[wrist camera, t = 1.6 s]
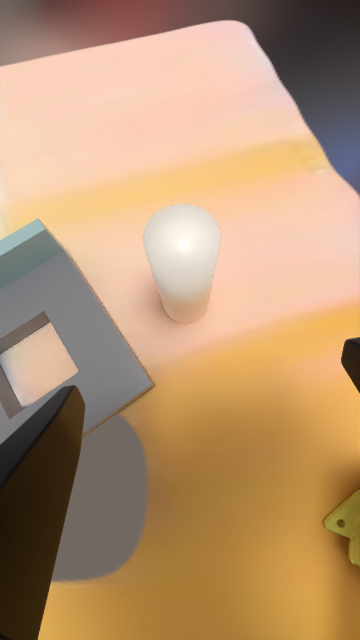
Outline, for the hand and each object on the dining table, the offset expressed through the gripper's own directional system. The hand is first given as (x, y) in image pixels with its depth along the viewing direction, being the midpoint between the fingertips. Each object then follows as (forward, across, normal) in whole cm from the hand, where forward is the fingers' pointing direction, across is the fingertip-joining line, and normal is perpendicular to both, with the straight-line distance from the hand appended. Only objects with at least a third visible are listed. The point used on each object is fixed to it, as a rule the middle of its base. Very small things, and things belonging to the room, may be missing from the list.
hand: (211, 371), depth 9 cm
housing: (+12, +13, +6) cm, 19 cm away
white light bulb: (+14, 0, +4) cm, 15 cm away
